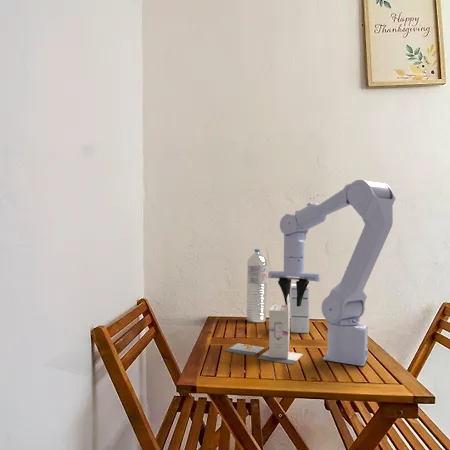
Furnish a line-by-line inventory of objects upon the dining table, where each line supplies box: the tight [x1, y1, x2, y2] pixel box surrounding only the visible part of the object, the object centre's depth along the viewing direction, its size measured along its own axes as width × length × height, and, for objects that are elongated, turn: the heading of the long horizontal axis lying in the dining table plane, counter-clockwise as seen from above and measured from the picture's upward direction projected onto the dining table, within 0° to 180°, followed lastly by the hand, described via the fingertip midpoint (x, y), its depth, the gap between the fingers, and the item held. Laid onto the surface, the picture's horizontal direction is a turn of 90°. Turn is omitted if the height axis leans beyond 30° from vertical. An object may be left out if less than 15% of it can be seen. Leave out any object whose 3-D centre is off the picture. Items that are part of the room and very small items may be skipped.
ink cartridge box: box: [268, 294, 291, 359], centre depth 101 cm, size 9×5×15 cm, turn 168°
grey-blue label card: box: [224, 342, 266, 357], centre depth 104 cm, size 8×8×1 cm
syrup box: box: [290, 283, 310, 334], centre depth 125 cm, size 6×6×14 cm
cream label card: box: [256, 349, 304, 366], centre depth 98 cm, size 9×9×1 cm
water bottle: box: [246, 248, 268, 324], centre depth 138 cm, size 7×7×25 cm
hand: (293, 305), depth 112 cm, fingers open, 3 cm apart
